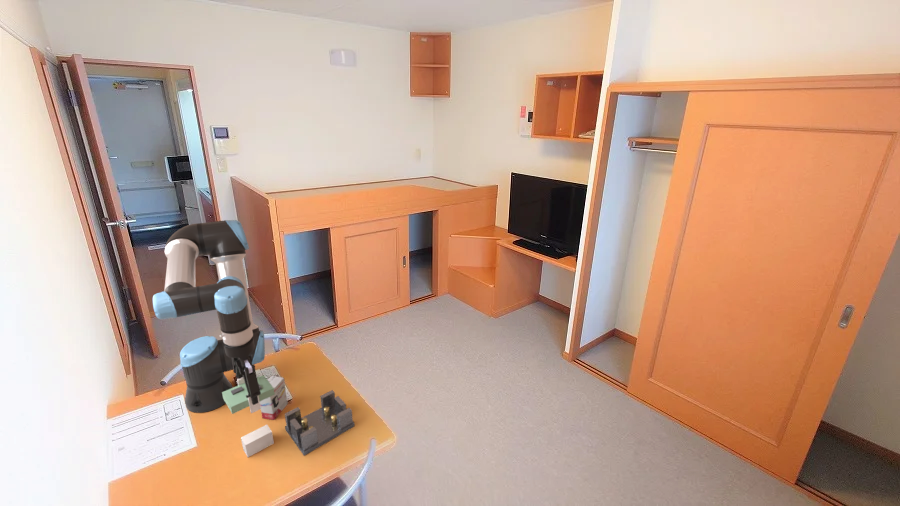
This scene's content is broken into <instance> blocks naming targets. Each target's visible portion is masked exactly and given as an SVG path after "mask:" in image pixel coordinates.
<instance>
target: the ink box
mask: <svg viewBox="0 0 900 506" xmlns="http://www.w3.org/2000/svg"><path fill="white" fill-rule="evenodd" d="M267 380H268V381H269V383H270V384H271V385H272V387H273V388H274V393H275V395H273V396H270V397H268V398H266V399H264V400H262V401H260V407H261V409H260V412H261V417H262V419H265V420H269V421H270V420H271V421H275V420H276V419H277V418H278V417H279V415H280V414H281V412H282V411H283V410H284V409H285V408H286V407H287V405H288V398H287V397H288V396H287V389H286V383H285V378H284V377H282V376H281V377H280V376H275V375H271V376H270V377H269V378H267Z"/></svg>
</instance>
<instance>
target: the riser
mask: <svg viewBox="0 0 900 506" xmlns="http://www.w3.org/2000/svg"><path fill="white" fill-rule="evenodd" d="M240 440H241V441H240V442H241V445H242V448H243V449H242V450H243V452H244V454H245V455H246V457H247V458H249V457H251V456H253V455H256V454H258V453H259V452H260V451H263V450H265V449H266V448H268V447H270V446H272V445H274V444H275V442H274V436H273V431H272V430H271V428H270V427H269V425H268V424H265V425H263V426H261V427H258V428H257V429H255V430H254V431H253V430H252V431H251V432H249V433H247V434H245V435H243V436H241V437H240Z"/></svg>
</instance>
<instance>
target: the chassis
mask: <svg viewBox="0 0 900 506" xmlns="http://www.w3.org/2000/svg"><path fill="white" fill-rule="evenodd" d="M319 398H320V406H321V407H319V408H318V409H315V410H314V411H312V412H310V413H308V414H306V415H304V416H302V413H301V409H300V407H299V406H298V407H295V408H293V409H291V410H289V411H288V412H285V413H284V419H285V426H284V429H285V432H286V433H287V434H288V435H289V438H291V440H292V441H293V443H294V444H295V445H296V447H297V448H298V450H299V451H300V453H302V455H303V456H304V457H305V456H307V455H309V454H310V453H311V452H313V451H315V450H316V449H319V448H320V447H322V446H323V445H325V444H327V443H329V442H331V441H332V440H334V439H336V438H337V437H339V436H340V435H342V434H344V433H346V432H348V431H349V430H351V429H353V428H354V427H355V426H356V425H355V422H354V420H353V410H352V408H350V407H348V408H346V407H347V404H346V403H345V402H344V400H343V399H342V398H340V396H339V395H336V393H335V391H334V390H333V389H331V390H329V391H327V392H326V393H324V394H321V395H320V396H319Z"/></svg>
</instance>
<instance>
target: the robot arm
mask: <svg viewBox="0 0 900 506" xmlns="http://www.w3.org/2000/svg"><path fill="white" fill-rule="evenodd" d="M249 249H250V247H249V243H248V240H247V236H246V233H245V230H244V227H243V224H242V223H241V221H239V220H238V219H231V220H228V219H225V220H218V221H208V222H200V223H191V224H187V225H186V226H183V227H181V228H179V229H177V231H175V232H174V233H173V234H172V235H171V236H170V237H169V238H168V240H167V242H166V243H165V246H164V255H165V257H166V258H167V259H166V260H167V261H166V263H167V264H166V272H165V282H164V290H163V291H160V292H157V293H155V294H153V296H152V308H153V311H154V315H155V317H156V318H157V319H159V320H168V319H176V318H181V317H184V316H185V317H186V316H190V315H191V316H192V315H195V314H201V313H206V312H211V311H216V314H217V319H218V322H219V327H220V328H219V329H220V333H221V334H219V338H221V339H217V338H216V336H213V335H211V336H209V335H206V336H201V337H198V338H195V339H193V340H191V341H189V342H188V343H187V344H186V345H184V346H183V347H182V349H181V350H180V352H179V359H180V366H181V368H182V372H183V375H184V379H185V380H184V381H185V383H186V389H185V390H186V391H185V396H184V404H185V407H186V409H187V410H188V411H189V412H192V413H196V414H198V413H206V412H211V411H214V410H217V409H219V408H221V407H222V406H224V405H226V402H225V401H224V399H223V395H222V392H224V391H226V390H229V389H231V388H233V384H232V383H231V381H229V379H228V377H227V376H226V375H225V373H226V372H230V371H232V372H233V374H235V378H237V379H236V380H237V386H238V385H241V384H243V383H245V385H246V388H247V391H248V394H247V395H246V398H248V401H249V411H250V414H253V413H255V412H258V411H259V410H260V411H261V407H260V401H259V395H260V394H261V392H260V389H259V385H258V381H257V377H258V376H257V373H256V366H255V365H257V364H260V363H262V362H263V361H264V360H265V358H266V357H265V355H266V349H265V348H266V347H265V345H266V344H265V331H264V330H263V329H262V330H261V329H260V327H259V325H257V324H255V323H254V320H253V315H252V309H251V307H252V306H251V303H250V298H249V297H250V296H249V290H248V285H247V280H246V275H245V267H244V263H243V260H244V259H245V257H246V256H247V253H246V251H248V250H249ZM201 256H209V260H210V261H212V262H214V264H215V267H216V272H217V276H218V281H217V282H216V283H210V284H205V285H204V284H203V285H197V284H196V283H197V282H196V281H197V280H196V278H197V277H196V276H197V275H196V260H197V258H198V257H201ZM196 285H197V286H196Z"/></svg>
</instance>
